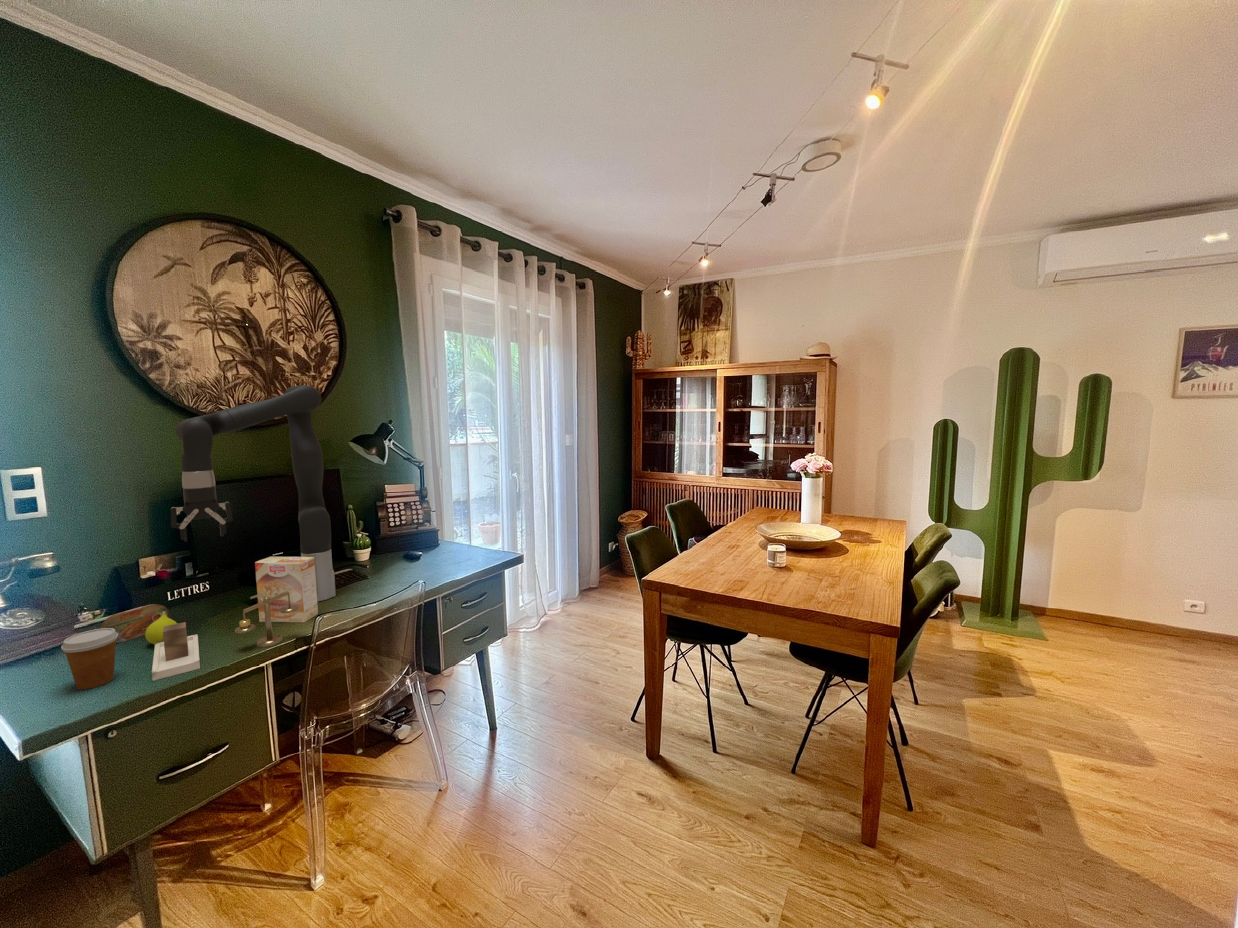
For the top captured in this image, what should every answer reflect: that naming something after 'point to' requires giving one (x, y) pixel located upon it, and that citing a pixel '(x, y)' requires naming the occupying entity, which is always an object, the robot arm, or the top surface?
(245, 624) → the balance
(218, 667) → the top surface
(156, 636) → the ornament
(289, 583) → the coffeecake box
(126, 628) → the tin
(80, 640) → the disposable coffee cup
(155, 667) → the dish
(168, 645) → the block
